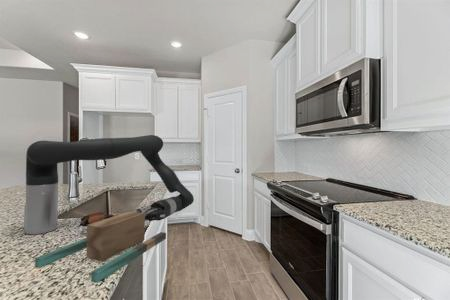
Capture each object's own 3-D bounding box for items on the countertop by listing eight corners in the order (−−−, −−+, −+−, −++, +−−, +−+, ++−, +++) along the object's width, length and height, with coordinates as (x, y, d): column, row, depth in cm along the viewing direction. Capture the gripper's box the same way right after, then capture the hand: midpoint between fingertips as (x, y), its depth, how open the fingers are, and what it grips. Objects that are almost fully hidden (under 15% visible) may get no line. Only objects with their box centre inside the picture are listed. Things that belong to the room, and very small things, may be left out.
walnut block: (86, 257, 62) (87, 224, 62) (130, 237, 77) (131, 211, 77) (101, 261, 60) (102, 227, 60) (144, 240, 74) (144, 213, 74)
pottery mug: (78, 241, 74) (74, 217, 77) (86, 243, 82) (82, 222, 85) (117, 227, 79) (112, 205, 81) (120, 231, 87) (116, 211, 90)
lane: (35, 265, 57) (35, 258, 57) (117, 231, 82) (117, 225, 82) (97, 282, 50) (98, 273, 50) (165, 238, 76) (165, 232, 76)
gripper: (150, 198, 95) (119, 207, 78) (177, 200, 91) (150, 211, 74) (150, 216, 95) (118, 229, 78) (177, 219, 90) (150, 233, 74)
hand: (134, 220), depth 76 cm, fingers closed
